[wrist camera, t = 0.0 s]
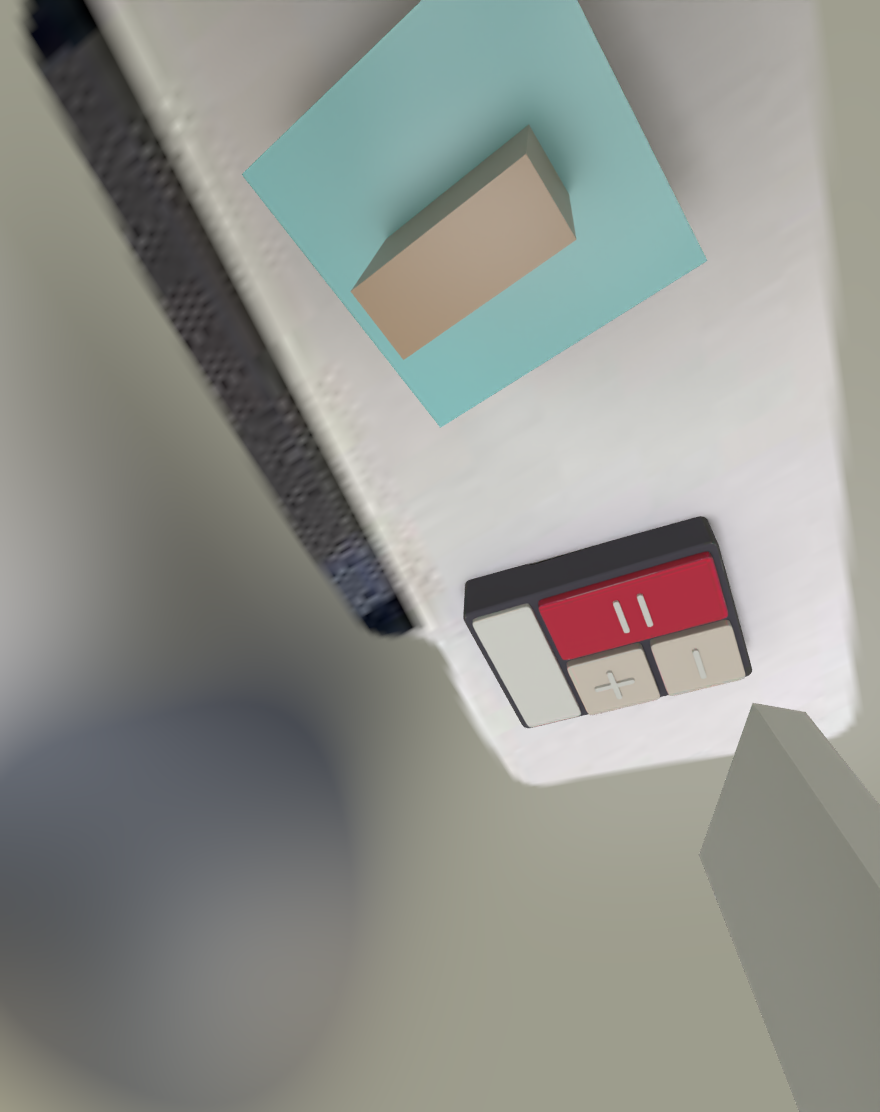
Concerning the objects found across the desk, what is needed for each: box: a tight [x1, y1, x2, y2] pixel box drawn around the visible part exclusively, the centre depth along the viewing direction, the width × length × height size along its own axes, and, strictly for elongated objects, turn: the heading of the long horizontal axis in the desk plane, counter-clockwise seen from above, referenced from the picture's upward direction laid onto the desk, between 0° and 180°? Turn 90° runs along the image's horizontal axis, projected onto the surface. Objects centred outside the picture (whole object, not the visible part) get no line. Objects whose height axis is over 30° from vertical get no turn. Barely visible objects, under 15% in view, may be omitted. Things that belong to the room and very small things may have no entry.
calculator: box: [464, 517, 752, 728], centre depth 44 cm, size 11×4×15 cm
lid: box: [242, 0, 707, 428], centre depth 23 cm, size 12×12×8 cm
